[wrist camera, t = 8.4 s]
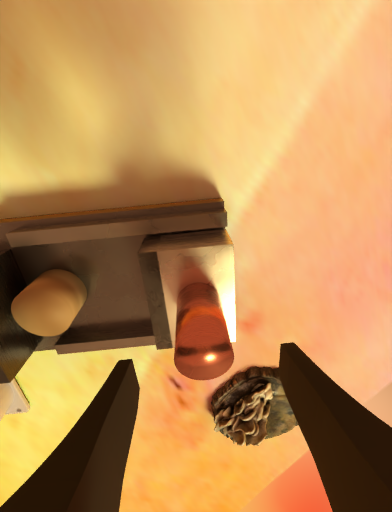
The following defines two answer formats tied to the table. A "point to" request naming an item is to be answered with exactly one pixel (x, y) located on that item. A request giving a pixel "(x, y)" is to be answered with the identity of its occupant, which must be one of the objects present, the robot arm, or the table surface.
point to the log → (253, 407)
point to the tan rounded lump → (49, 303)
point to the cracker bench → (90, 272)
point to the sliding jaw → (192, 299)
